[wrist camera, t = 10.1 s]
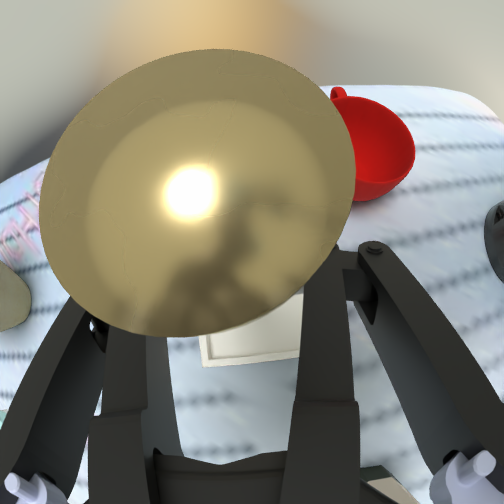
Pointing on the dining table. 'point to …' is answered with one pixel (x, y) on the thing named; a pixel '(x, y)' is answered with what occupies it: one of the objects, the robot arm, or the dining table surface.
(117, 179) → the pin
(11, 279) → the plant pot
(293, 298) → the tray
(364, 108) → the ceramic cup
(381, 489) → the wine bottle
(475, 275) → the dining table surface
